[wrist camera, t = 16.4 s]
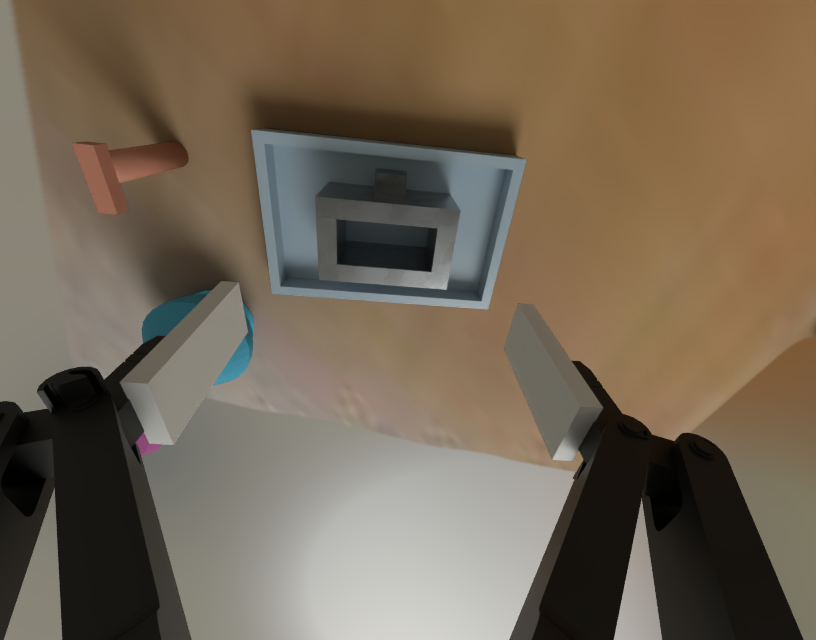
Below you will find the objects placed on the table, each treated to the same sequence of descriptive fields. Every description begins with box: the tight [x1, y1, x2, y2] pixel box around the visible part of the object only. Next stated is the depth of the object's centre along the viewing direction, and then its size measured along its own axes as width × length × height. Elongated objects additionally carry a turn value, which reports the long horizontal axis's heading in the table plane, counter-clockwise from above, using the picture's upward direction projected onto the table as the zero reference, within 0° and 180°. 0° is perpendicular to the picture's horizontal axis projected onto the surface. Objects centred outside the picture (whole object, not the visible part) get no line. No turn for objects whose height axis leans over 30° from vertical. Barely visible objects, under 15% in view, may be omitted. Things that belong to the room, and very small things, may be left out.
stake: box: [72, 142, 188, 215], centre depth 23 cm, size 4×2×9 cm, turn 174°
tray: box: [251, 128, 526, 309], centre depth 29 cm, size 13×20×2 cm, turn 84°
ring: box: [315, 168, 461, 290], centre depth 27 cm, size 10×8×6 cm
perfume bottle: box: [136, 290, 254, 455], centre depth 28 cm, size 9×9×15 cm
